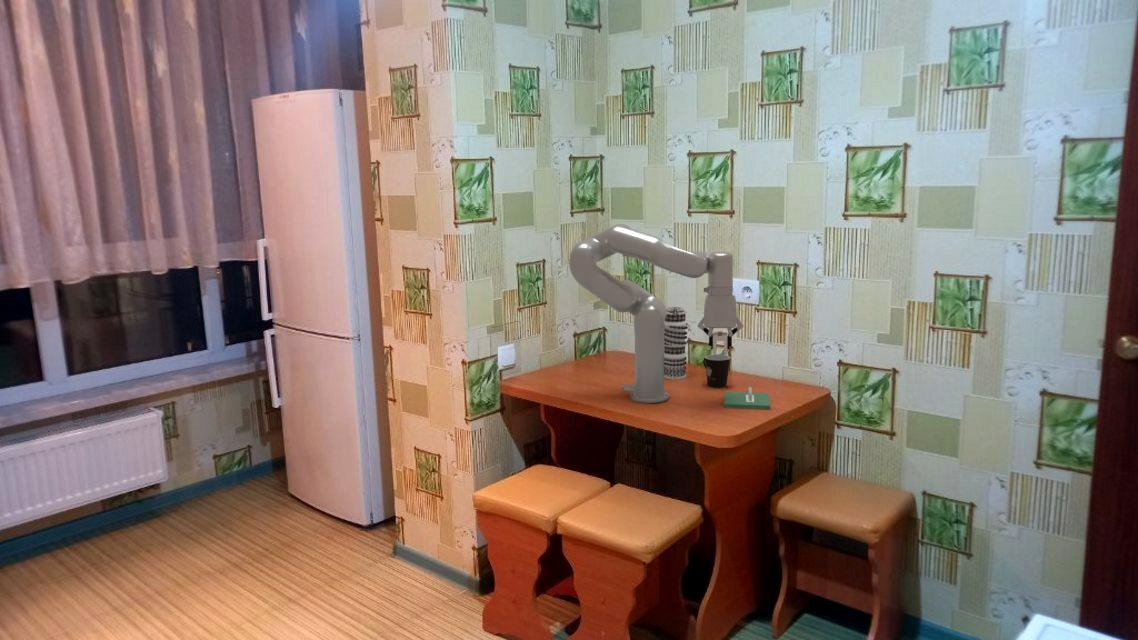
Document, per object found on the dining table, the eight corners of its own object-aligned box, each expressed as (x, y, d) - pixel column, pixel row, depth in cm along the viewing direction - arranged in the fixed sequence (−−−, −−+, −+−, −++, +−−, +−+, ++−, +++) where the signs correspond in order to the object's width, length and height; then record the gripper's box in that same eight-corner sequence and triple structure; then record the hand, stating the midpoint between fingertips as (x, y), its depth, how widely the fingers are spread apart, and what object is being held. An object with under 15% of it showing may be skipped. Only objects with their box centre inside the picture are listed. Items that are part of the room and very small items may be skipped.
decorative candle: (692, 375, 284) (693, 307, 279) (677, 380, 277) (678, 311, 273) (671, 371, 290) (672, 304, 285) (656, 376, 283) (656, 308, 279)
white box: (712, 354, 246) (712, 335, 245) (713, 349, 254) (713, 330, 253) (727, 355, 245) (727, 335, 244) (727, 349, 253) (727, 330, 252)
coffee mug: (732, 388, 266) (732, 360, 264) (706, 389, 266) (707, 360, 264) (725, 379, 278) (725, 352, 276) (700, 380, 278) (701, 352, 276)
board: (724, 407, 245) (724, 394, 245) (724, 395, 259) (724, 382, 258) (770, 409, 243) (770, 396, 242) (768, 396, 256) (768, 384, 255)
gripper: (692, 293, 244) (692, 350, 247) (748, 293, 241) (747, 351, 244) (693, 289, 251) (694, 345, 255) (747, 289, 248) (747, 346, 251)
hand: (720, 347), depth 249 cm, fingers closed on white box, 4 cm apart
